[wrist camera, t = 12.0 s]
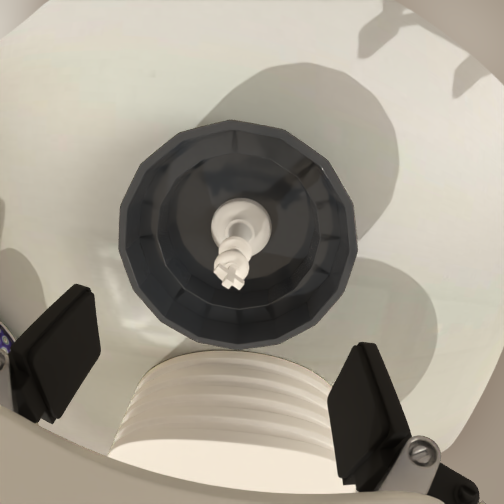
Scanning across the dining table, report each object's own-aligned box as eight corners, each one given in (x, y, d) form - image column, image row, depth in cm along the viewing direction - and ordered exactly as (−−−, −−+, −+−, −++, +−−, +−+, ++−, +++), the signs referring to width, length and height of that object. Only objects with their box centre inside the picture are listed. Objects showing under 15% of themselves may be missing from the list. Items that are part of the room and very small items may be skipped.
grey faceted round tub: (161, 114, 22) (130, 109, 16) (356, 151, 22) (384, 156, 17) (144, 289, 28) (120, 323, 22) (308, 320, 28) (317, 361, 23)
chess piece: (247, 266, 26) (238, 338, 16) (199, 232, 25) (163, 289, 15) (284, 222, 24) (296, 276, 15) (235, 185, 23) (215, 217, 14)
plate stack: (201, 475, 42) (193, 527, 31) (95, 376, 33) (59, 439, 22) (358, 445, 37) (370, 505, 26) (304, 315, 28) (321, 408, 17)
